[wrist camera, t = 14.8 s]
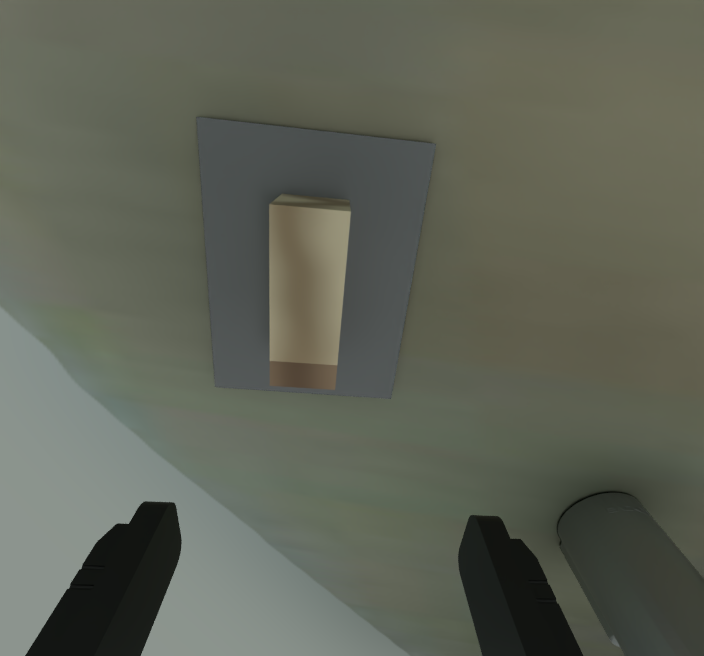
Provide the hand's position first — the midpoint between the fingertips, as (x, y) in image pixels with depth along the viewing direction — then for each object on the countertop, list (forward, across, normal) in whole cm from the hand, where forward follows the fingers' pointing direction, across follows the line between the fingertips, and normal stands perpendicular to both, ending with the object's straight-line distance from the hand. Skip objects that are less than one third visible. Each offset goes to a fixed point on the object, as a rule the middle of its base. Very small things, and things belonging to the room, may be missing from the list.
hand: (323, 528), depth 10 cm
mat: (+20, +2, 0) cm, 20 cm away
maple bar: (+20, +2, 0) cm, 20 cm away
